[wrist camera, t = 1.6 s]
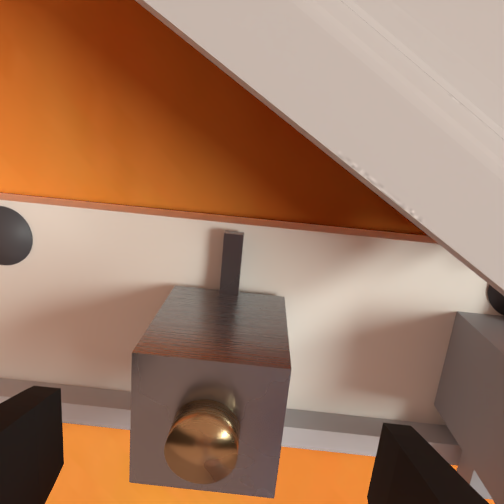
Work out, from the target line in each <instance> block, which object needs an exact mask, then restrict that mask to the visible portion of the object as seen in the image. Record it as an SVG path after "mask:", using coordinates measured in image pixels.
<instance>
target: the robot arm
mask: <svg viewBox="0 0 504 504" xmlns="http://www.w3.org/2000/svg"><path fill="white" fill-rule="evenodd" d="M63 464H64V458H63V432H62V406H61V388H53V387H43V386H32V387H30V388H28V389H26V390H24V391H22V392H20V393H18V394H16V395H15V396H13V397H11V398H9V399H7V400H6V401H4V402H2V403H0V504H45V502H46V500H47V498H48V496H49V494H50V492H51V490H52V488H53V486H54V484H55V481H56V479H57V477H58V475H59V473H60V471H61V468H62V466H63ZM367 498H368V504H489V503H488V502H487V501H486V500H485V499H484V498H483V497H482V496H481V495H480V494H479V493H478V492H477V491H476V490H475V489H474V488H473V487H472V486H471V485H470V484H469V483H468V482H467V481H466V480H465V479H464V478H463V477H462V476H461V475H460V474H459V473H458V472H457V471H456V470H455V469H454V468H453V467H452V466H451V465H450V464H449V463H448V462H447V461H446V460H445V459H444V458H443V457H442V456H441V455H440V454H439V453H438V452H437V451H436V450H435V449H434V448H433V447H432V446H431V445H430V444H429V443H428V442H427V441H426V440H425V439H424V438H423V437H422V436H421V435H420V434H419V433H418V432H417V431H416V430H415V429H414V428H413V427H412V426H410V425H401V424H391V423H383V425H382V430H381V435H380V440H379V444H378V449H377V454H376V458H375V463H374V468H373V472H372V477H371V482H370V486H369V491H368V496H367Z"/></svg>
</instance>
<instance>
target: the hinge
mask: <svg viewBox="0 0 504 504" xmlns="http://www.w3.org/2000/svg"><path fill="white" fill-rule="evenodd" d="M135 1H136V2H138V3H139V4H140V5H141V6H143V7H144V8H145V9H146V10H148V11H149V12H150V13H151V14H153V15H154V16H155V17H156V18H157V19H159V20H160V21H161V22H162V23H164V24H165V25H166V26H167V27H169V28H170V29H171V30H172V31H174V32H175V33H176V34H177V35H179V36H180V37H181V38H182V39H184V40H185V41H186V42H187V43H189V44H190V45H191V46H192V47H194V48H195V49H196V50H197V51H199V52H200V53H201V54H202V55H204V56H205V57H206V58H207V59H209V60H210V61H211V62H212V63H214V64H215V65H216V66H217V67H219V68H220V69H221V70H222V71H224V72H225V73H226V74H227V75H229V76H230V77H231V78H232V79H234V80H235V81H236V82H237V83H239V84H240V85H241V86H242V87H244V88H245V89H246V90H247V91H249V92H250V93H251V94H252V95H254V96H255V97H256V98H257V99H259V100H260V101H261V102H262V103H264V104H265V105H266V106H267V107H269V108H270V109H271V110H272V111H274V112H275V113H276V114H277V115H279V116H280V117H281V118H282V119H284V120H285V121H286V122H287V123H289V124H290V125H291V126H292V127H293V128H295V129H296V130H297V131H298V132H300V133H301V134H302V135H303V136H305V137H306V138H307V139H308V140H310V141H311V142H312V143H313V144H315V145H316V146H317V147H318V148H320V149H321V150H322V151H323V152H325V153H326V154H327V155H328V156H330V157H331V158H332V159H333V160H335V161H336V162H337V163H338V164H340V165H341V166H342V167H343V168H345V169H346V170H347V171H348V172H350V173H351V174H352V175H353V176H355V177H356V178H357V179H358V180H360V181H361V182H362V183H363V184H365V185H366V186H367V187H368V188H370V189H371V190H372V191H373V192H375V193H376V194H377V195H378V196H380V197H381V198H382V199H383V200H385V201H386V202H387V203H388V204H390V205H391V206H392V207H393V208H395V209H396V210H397V211H398V212H400V213H401V214H402V215H403V216H405V217H406V218H407V219H408V220H410V221H411V222H412V223H413V224H415V225H416V226H417V227H418V228H420V229H421V230H422V231H423V232H424V233H426V234H427V235H428V236H429V237H431V238H432V239H433V240H434V241H436V242H437V243H438V244H439V245H441V246H442V247H443V248H444V249H446V250H447V251H448V252H449V253H451V254H452V255H453V256H454V257H456V258H457V259H458V260H459V261H461V262H462V263H463V264H464V265H466V266H467V267H468V268H469V269H471V270H472V271H473V272H474V273H476V274H477V275H478V276H479V277H481V278H482V279H483V280H484V281H486V282H487V283H488V284H489V285H491V286H492V287H493V288H494V289H496V290H497V291H498V292H499V293H501V294H502V295H503V296H504V0H135Z"/></svg>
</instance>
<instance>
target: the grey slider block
mask: <svg viewBox="0 0 504 504" xmlns="http://www.w3.org/2000/svg"><path fill="white" fill-rule="evenodd" d="M243 241H244V232H237V231H227V230H225V232H224V240H223V253H222V266H221V279H220V290H214V289H205V288H195V287H185V286H176V285H175V286H174V288H173V289H172V291H171V293H170V294H169V296H168V297H167V299H166V300H165V302H164V303H163V305H162V307H161V308H160V310H159V311H158V313H157V314H156V316H155V317H154V319H153V320H152V322H151V324H150V325H149V327H148V328H147V330H146V331H145V333H144V334H143V336H142V338H141V339H140V341H139V342H138V344H137V345H136V347H135V348H134V350H133V351H132V367H131V424H130V481H129V482H131V483H140V484H149V485H158V486H167V487H176V488H185V489H194V490H203V491H212V492H222V493H231V494H240V495H249V496H258V497H267V498H274V495H275V487H276V480H277V473H278V465H279V458H280V450H281V443H282V436H283V428H284V421H285V414H286V406H287V399H288V391H289V384H290V377H291V359H290V349H289V339H288V328H287V318H286V308H285V298H284V297H282V296H273V295H263V294H253V293H243V292H239V285H240V274H241V263H242V252H243Z"/></svg>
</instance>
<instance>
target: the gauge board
mask: <svg viewBox="0 0 504 504" xmlns="http://www.w3.org/2000/svg"><path fill="white" fill-rule="evenodd" d="M225 230H227V231H237V232H244V241H243V252H242V263H241V274H240V285H239V292H243V293H253V294H263V295H273V296H282V297H284V298H285V308H286V318H287V328H288V339H289V349H290V359H291V377H290V384H289V391H288V399H287V406H286V414H285V421H284V428H283V436H282V443H281V446H284V447H293V448H302V449H311V450H320V451H330V452H339V453H348V454H357V455H367V456H376V454H377V449H378V444H379V440H380V435H381V430H382V425H383V423H391V424H401V425H410V426H412V427H413V428H414V429H415V430H416V431H417V432H418V433H419V434H420V435H421V436H422V437H423V438H424V439H425V440H426V441H427V442H428V443H429V444H430V445H431V446H432V447H433V448H434V449H435V450H436V451H437V452H438V453H439V454H440V455H441V456H442V457H443V458H444V459H445V460H446V461H447V462H448V463H449V464H450V465H458V468H457V472H458V473H459V474H460V475H461V476H462V477H463V478H464V479H465V480H466V481H467V482H468V483H469V484H470V485H471V486H472V487H473V488H474V489H475V490H476V491H477V492H478V493H479V494H480V495H481V496H482V497H483V498H485V499H493V501H494V502H495V504H504V296H503V295H502V294H501V293H499V292H498V291H497V290H496V289H494V288H493V287H492V286H491V285H489V284H488V283H487V282H486V281H484V280H483V279H482V278H481V277H479V276H478V275H477V274H476V273H474V272H473V271H472V270H471V269H469V268H468V267H467V266H466V265H464V264H463V263H462V262H461V261H459V260H458V259H457V258H456V257H454V256H453V255H452V254H451V253H449V252H448V251H447V250H446V249H444V248H443V247H442V246H441V245H439V244H438V243H437V242H436V241H434V240H433V239H432V238H431V237H429V236H425V235H415V234H405V233H395V232H385V231H375V230H365V229H355V228H345V227H335V226H325V225H316V224H306V223H296V222H286V221H276V220H266V219H256V218H246V217H236V216H226V215H216V214H206V213H196V212H186V211H177V210H167V209H157V208H147V207H137V206H127V205H117V204H107V203H97V202H87V201H77V200H67V199H57V198H47V197H37V196H28V195H18V194H8V193H0V403H2V402H4V401H6V400H7V399H9V398H11V397H13V396H15V395H16V394H18V393H20V392H22V391H24V390H26V389H28V388H30V387H32V386H43V387H53V388H61V406H62V423H71V424H81V425H90V426H99V427H108V428H117V429H127V430H130V424H131V367H132V351H133V350H134V348H135V347H136V345H137V344H138V342H139V341H140V339H141V338H142V336H143V334H144V333H145V331H146V330H147V328H148V327H149V325H150V324H151V322H152V320H153V319H154V317H155V316H156V314H157V313H158V311H159V310H160V308H161V307H162V305H163V303H164V302H165V300H166V299H167V297H168V296H169V294H170V293H171V291H172V289H173V288H174V286H175V285H176V286H185V287H195V288H205V289H214V290H220V279H221V266H222V253H223V240H224V232H225Z"/></svg>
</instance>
